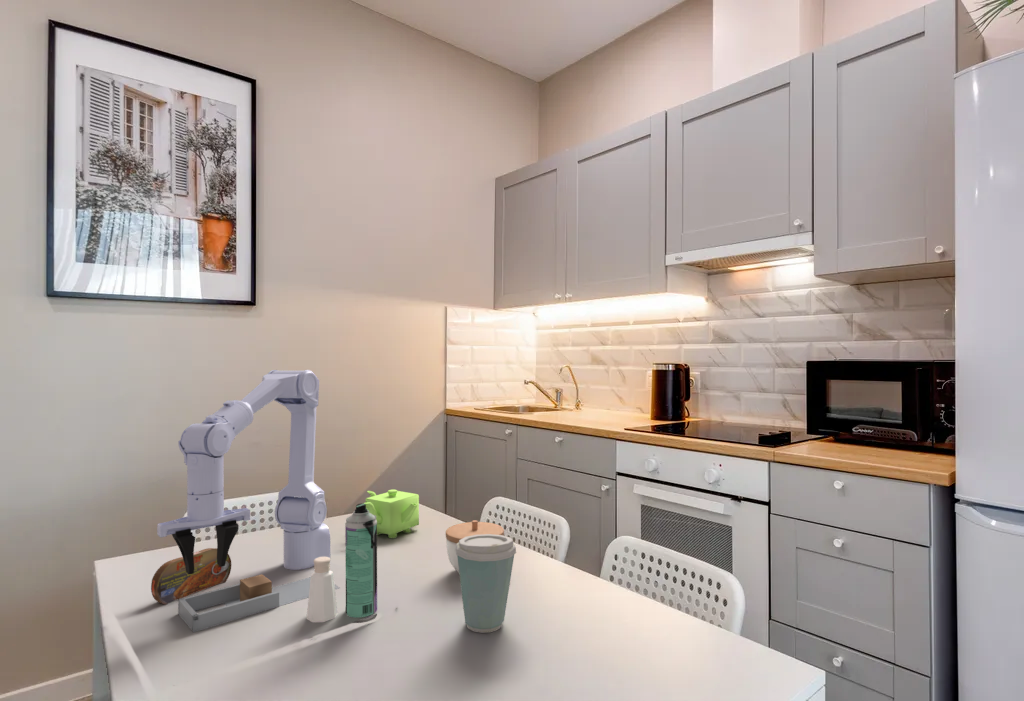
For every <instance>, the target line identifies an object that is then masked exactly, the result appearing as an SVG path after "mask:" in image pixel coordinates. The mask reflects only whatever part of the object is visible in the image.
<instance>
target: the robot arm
mask: <svg viewBox="0 0 1024 701" xmlns="http://www.w3.org/2000/svg"><path fill="white" fill-rule="evenodd" d="M319 391H320V379H319V377H317V375H316V374H315V373H314V372H313V371H312V370H311V369H305V370H278V369H272V370H270V371H269V372H267V373H266V374H264V375H262V378H261V382H260V383H259V384H258V385H257V386H255V387H254V388H253V389H252V390H251V391H250V392H248V394H246V395H245V396H244V397H243V398H242V399H240V400H239V399H234V400H231V399H229V400H228V399H227V400H226V401H224V402H223V403H222V405H223V406H222V407H220V408H219V409H218V410H216V411H215V412H214V413H212V414H208V415H207V416H205V419H204V420H203V421H202V422H201V423H199V422H196V423H192V424H190V425H189V426H188V427H186V428H185V429H184V430H183V432H182V433H181V436H180V440H178V448H179V450H180V452H181V453H182V454H183V458H184V460H183V463H184V464H185V465H186V487H187V489H186V503H187V505H186V516H184V517H179V518H176V519H173V520H169V521H164V522H160V523H157V525H156V527H157V529H156V531H157V533H156V535H157V536H158V537H159V538H164V537H167V536H169V535H170V536H171V535H172V538H173V539H174V541H175V543H176V545H177V546H178V549H179V551H180V553H181V554H180V555H181V557H182V556H183V560H184V563H185V568H186V572H187V573H188V574H193V573H194V553H195V543H196V542H195V541H196V536H194V533H193V532H192V531H194V530H195V531H196V530H201V529H205V528H211V527H214V526H215V531H216V548H217V564H218V565H219V566H221V567H222V566H225V563H226V558H227V554H229V551H230V547H231V545H232V543H233V541H234V539H235V536H236V535H237V533H238V531H239V526H240V525H239V524H238V523H237V522H240V521H241V522H242V521H244V522H246V521H250V520H251V509H250V508H247V507H242V508H234V509H225V498H224V497H225V490H224V488H225V486H224V485H225V482H224V481H225V476H224V475H225V470H224V468H225V467H224V464H225V463H224V462H225V461H224V460H225V458H224V457H225V456H224V455H225V454H227V453H228V452H229V450H231V447H232V443H233V441H234V440H235V439H236V437H237V436H238V435H240V433H242V431H244V430H245V429H247V428H248V427H249V426H250V425H251V424H252V423H253V420H254V414H255V413H257V412H259V411H260V410H262V409H264V407H265V406H267V405H269V404H270V403H271V402H273V401H274V402H276V403H278V404H280V405H281V406H284V407H285V408H286V410H288V411H289V412H290V430H289V431H290V436H289V459H288V483H287V484H286V485H285V486H284V487H283V488H282V489H280V491H279V492H278V493H277V494H278V497H277V498H278V499H277V502H276V505H275V509H274V518H275V521H276V523H277V524H278V525H280V530H283V568H284V569H288V570H292V571H293V570H306V569H309V568H312V567H314V560H315V559H316V558H318V557H329V558H330V559H331V533H330V528H329V527H328V525H327V524H326V523H324V521H325V519H326V517H327V510H328V509H327V504H326V501H325V500H326V499H325V498H326V497H325V491H324V490H323V489H322V488H321V487H320V486H319V485H317V484H316V483H315V480H314V479H315V459H316V458H315V457H316V456H315V454H316V431H317V430H316V428H317V427H316V426H317V407H318V406H319V398H320V396H319V395H320V392H319Z"/></svg>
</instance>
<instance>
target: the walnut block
mask: <svg viewBox="0 0 1024 701" xmlns="http://www.w3.org/2000/svg"><path fill="white" fill-rule="evenodd" d="M239 583H240V602H241V601H245V600H248V599H252V598H255V597H259V596H262V595H266V594H269V593H272V588H273V586H272V585H273V582H272V580H271V579H269V578H268V577H266V576H265V575H264V574H257V575H254V576H250V577H246V578H242V579H239Z"/></svg>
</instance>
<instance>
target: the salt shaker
mask: <svg viewBox="0 0 1024 701" xmlns="http://www.w3.org/2000/svg"><path fill="white" fill-rule="evenodd" d="M330 567H331V557H330V558H329V557H318V558H316V559H315V560H314V566H313V568H314V572H312V574H311V575H310V577H311V580H310V590H309V598H308V601H307V612H306V620H308V621H310V622H311V623H325V622H328V621H331V620H333V619H335V618H336V617H337V616H338V613H339V612H338V602H337V594H336V592H337V591H336V590H335V585H336V584H335V576H334V571H332V570H330V569H331V568H330Z"/></svg>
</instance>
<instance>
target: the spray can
mask: <svg viewBox="0 0 1024 701" xmlns="http://www.w3.org/2000/svg"><path fill="white" fill-rule="evenodd" d="M364 503H365V502H363V503H358V504H356V506H355V509H354V511H352V514H351V515H349V516H347V517H346V518H345V521H346V522H345V523H344V524H345V525H344V526H345V527H344V528H345V529H344V530H345V536H344V537H345V540H344V541H345V614H346V616H348V617H351V618H361V619H358V620H355V621H352V622H351V623H352V624H361V623H363V624H364V623H366V622H370V621H373V620H374V619H376V617H377V616H378V613H376V612H377V611H378V535H377V520H376V516H375V515H372V514H371V513H369V510H367V509H366V504H364Z"/></svg>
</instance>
